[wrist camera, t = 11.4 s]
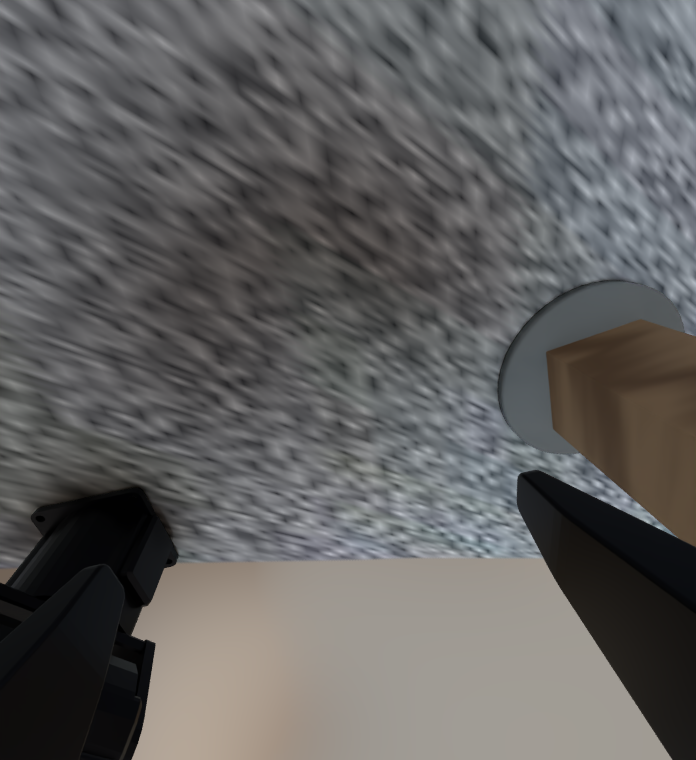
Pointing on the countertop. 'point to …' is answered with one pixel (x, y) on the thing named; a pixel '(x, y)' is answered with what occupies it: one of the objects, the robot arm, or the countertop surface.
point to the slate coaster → (561, 327)
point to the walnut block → (633, 414)
